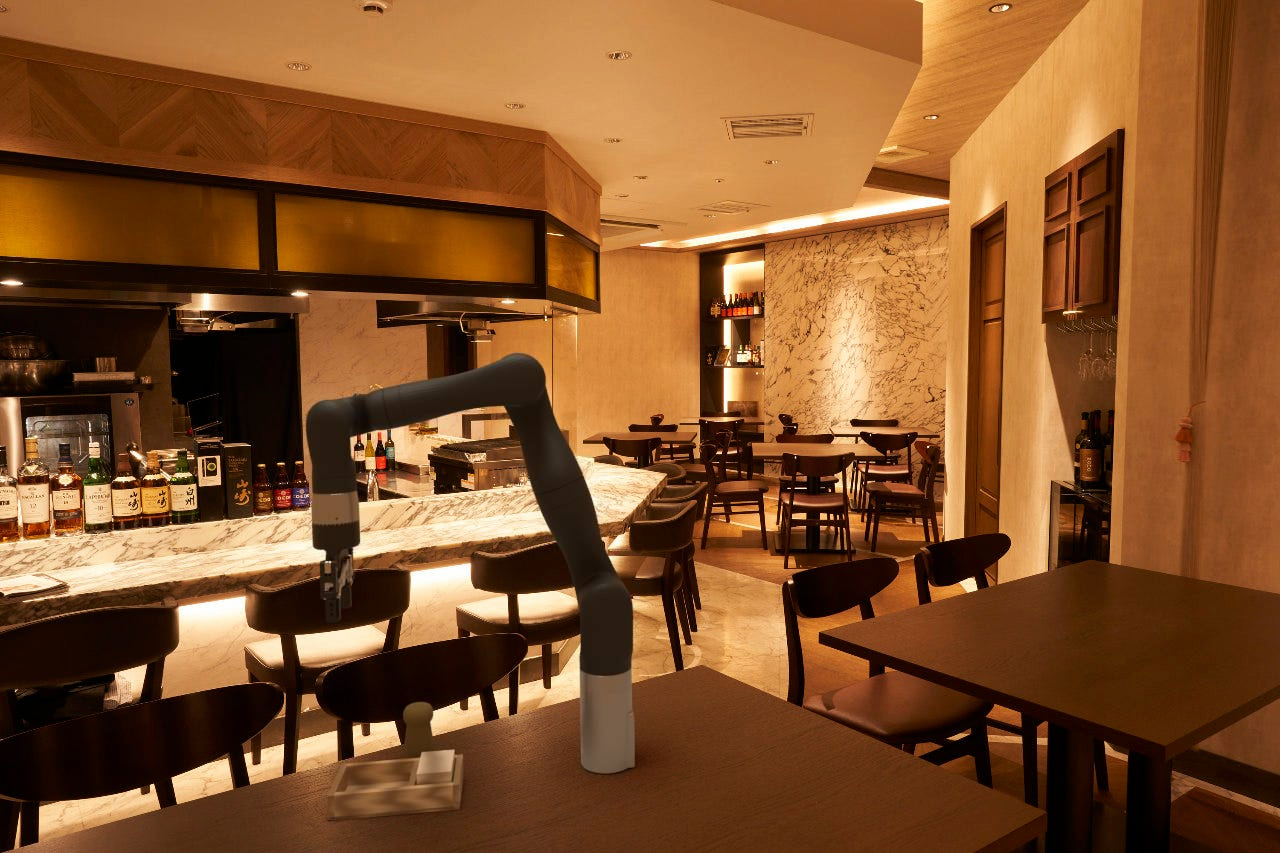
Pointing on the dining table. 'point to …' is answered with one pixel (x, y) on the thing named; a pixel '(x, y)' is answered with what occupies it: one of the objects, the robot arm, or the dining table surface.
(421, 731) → the olive pawn
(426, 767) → the caddy
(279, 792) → the dining table surface
